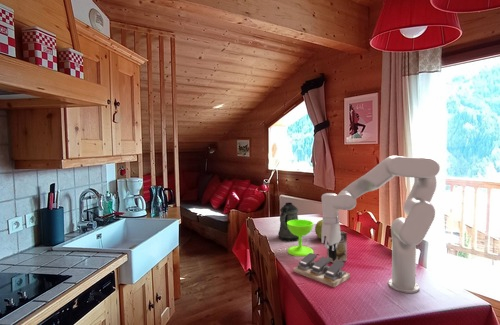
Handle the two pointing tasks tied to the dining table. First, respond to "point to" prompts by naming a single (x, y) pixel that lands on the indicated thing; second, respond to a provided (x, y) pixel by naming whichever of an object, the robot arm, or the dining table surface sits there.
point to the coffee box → (340, 249)
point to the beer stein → (286, 215)
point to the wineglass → (300, 236)
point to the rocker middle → (320, 264)
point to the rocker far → (307, 259)
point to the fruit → (319, 228)
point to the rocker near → (334, 268)
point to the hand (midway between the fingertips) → (332, 257)
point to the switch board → (322, 274)
